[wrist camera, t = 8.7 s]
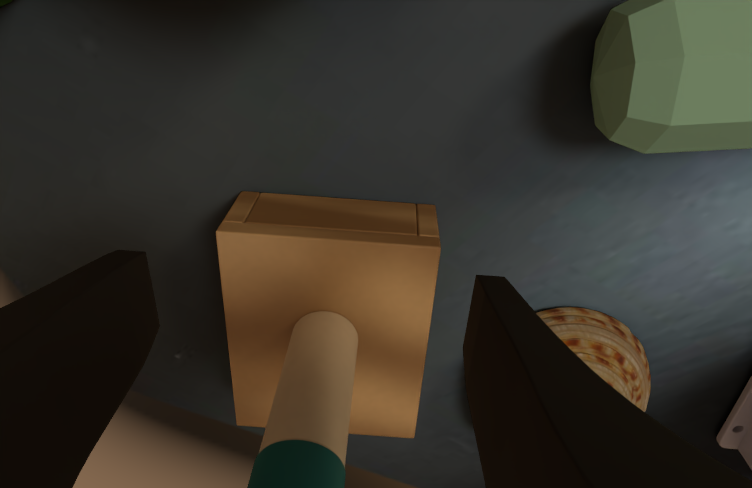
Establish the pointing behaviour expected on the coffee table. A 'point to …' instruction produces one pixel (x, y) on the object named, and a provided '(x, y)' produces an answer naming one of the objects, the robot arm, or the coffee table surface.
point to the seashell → (604, 349)
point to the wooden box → (330, 297)
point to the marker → (310, 407)
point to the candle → (4, 2)
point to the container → (675, 75)
